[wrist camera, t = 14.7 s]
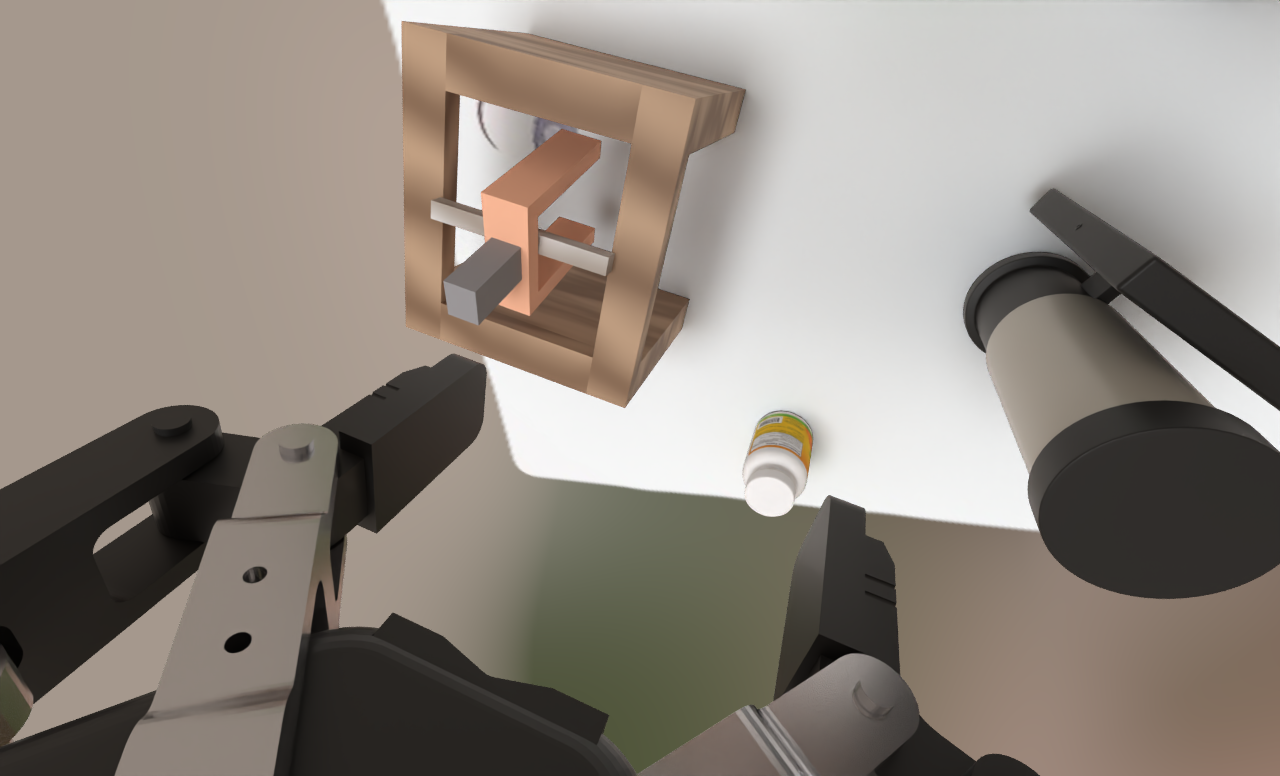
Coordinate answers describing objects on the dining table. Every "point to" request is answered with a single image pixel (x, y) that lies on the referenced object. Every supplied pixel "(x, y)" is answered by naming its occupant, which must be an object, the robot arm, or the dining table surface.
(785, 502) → the supplement bottle
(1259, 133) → the dining table surface
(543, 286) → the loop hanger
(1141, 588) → the light fixture
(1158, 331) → the dining table surface
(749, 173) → the dining table surface
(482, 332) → the wooden frame stand
